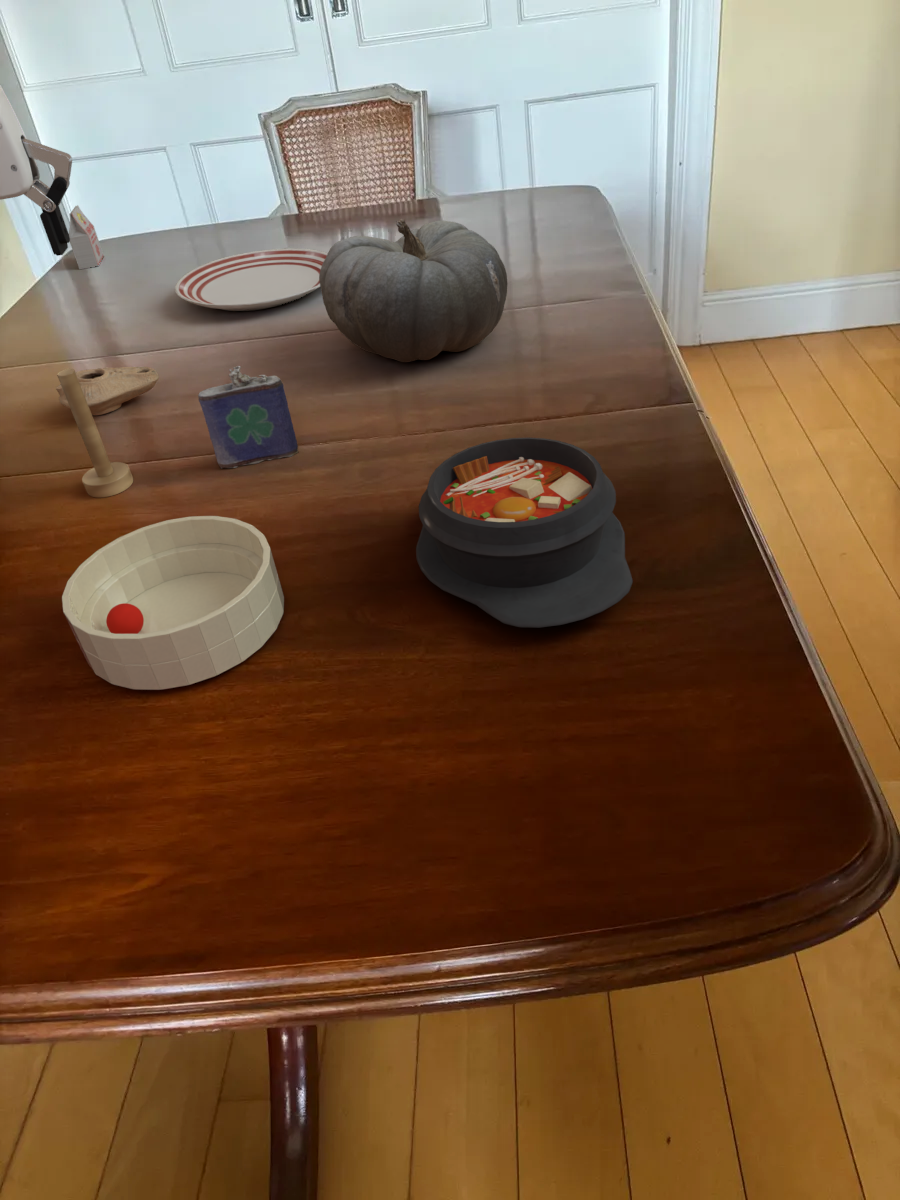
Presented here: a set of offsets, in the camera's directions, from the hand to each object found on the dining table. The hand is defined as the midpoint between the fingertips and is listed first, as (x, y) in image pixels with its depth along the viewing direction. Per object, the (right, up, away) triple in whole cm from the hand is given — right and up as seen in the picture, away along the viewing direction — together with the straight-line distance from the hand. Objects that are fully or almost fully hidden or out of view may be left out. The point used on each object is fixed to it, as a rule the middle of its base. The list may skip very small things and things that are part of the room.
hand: (13, 259), depth 89 cm
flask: (+22, -18, +13) cm, 31 cm away
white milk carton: (-27, +32, +87) cm, 97 cm away
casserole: (+50, -30, -8) cm, 59 cm away
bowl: (+21, -36, -11) cm, 43 cm away
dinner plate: (+12, +17, +61) cm, 64 cm away
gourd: (+40, +2, +35) cm, 53 cm away
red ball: (+16, -36, -13) cm, 41 cm away
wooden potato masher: (+5, -21, +12) cm, 25 cm away
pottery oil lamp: (-1, -9, +29) cm, 30 cm away
